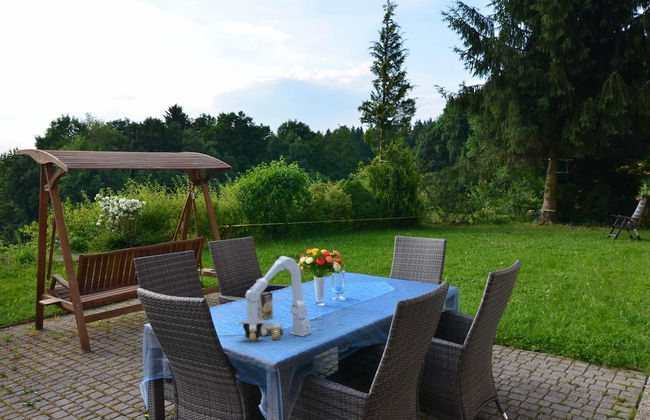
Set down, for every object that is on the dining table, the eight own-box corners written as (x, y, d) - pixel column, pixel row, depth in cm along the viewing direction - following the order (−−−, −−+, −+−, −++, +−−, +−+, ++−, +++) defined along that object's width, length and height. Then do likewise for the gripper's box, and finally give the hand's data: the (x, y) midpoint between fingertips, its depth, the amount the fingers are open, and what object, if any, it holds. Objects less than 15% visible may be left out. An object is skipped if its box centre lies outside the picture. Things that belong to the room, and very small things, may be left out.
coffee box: (262, 321, 289) (261, 295, 289) (255, 319, 293) (254, 293, 293) (273, 317, 296) (272, 292, 296) (266, 316, 300) (265, 291, 300)
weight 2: (281, 338, 253) (281, 329, 253) (276, 341, 250) (276, 331, 250) (275, 337, 256) (275, 328, 256) (270, 339, 252) (269, 330, 252)
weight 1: (259, 340, 251) (258, 330, 251) (253, 342, 248) (253, 332, 248) (253, 338, 254) (252, 329, 254) (247, 341, 250) (247, 331, 250)
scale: (282, 335, 260) (282, 328, 260) (245, 337, 257) (245, 330, 257) (280, 327, 274) (280, 321, 274) (245, 329, 271) (245, 323, 271)
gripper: (267, 310, 254) (268, 335, 254) (240, 310, 255) (241, 335, 255) (265, 313, 247) (265, 339, 247) (237, 314, 248) (238, 339, 248)
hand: (253, 337), depth 251 cm, fingers closed on weight 1, 4 cm apart
